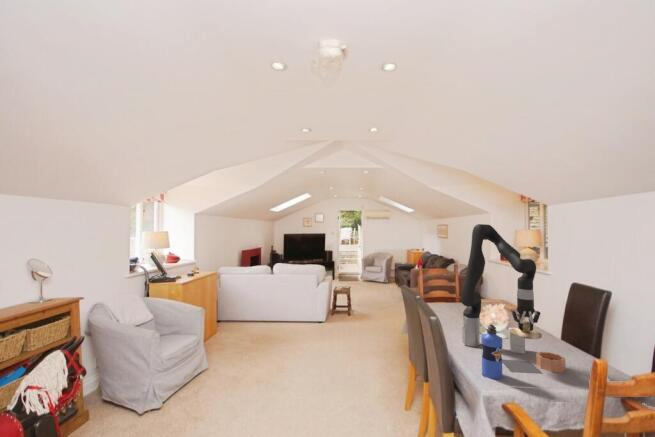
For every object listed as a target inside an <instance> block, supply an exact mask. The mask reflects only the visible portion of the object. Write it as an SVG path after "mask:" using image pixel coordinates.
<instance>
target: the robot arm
mask: <svg viewBox="0 0 655 437" xmlns="http://www.w3.org/2000/svg"><path fill="white" fill-rule="evenodd" d="M484 241H490V242H491V243H492V244H493V245H494V246H495V247H496V250H498V251H497V252H498V253H499V254H500V255H501V256H502V257H503V258H504V259H506V261H508V262H509V264H510V265H511V267H512V268H513V270H515V271H516V272H518V273H519V274H522V275H521V276H519V277H518V278H517V289H516V306H517V307H516V309H514V310H512V309H511V310H510V313H511V315H512V317H513V320H514V321H515V322H516V323H517V324H518V325H517V328H519V329H520V330H521V331H523V324H522V322H523V321H524V320H525V318H527V319H528V322H530V331H532V330H534V324H537V323H538V322H539V319H540V317H541V314H542V313H541V312H540V311H539V310H535V296H534V295H535V293H534V279H535V276H536V272H537V264H536V262H535V261H534V260H533V259H531V258H525V259H524V258H521V253H520V252H519V251H518V250H517V249H515V248H514V247H513V246H512V245H510V244H509V242H507V241H506V240H505V239H504V238H503V236H501V235H500V234H499V232H498V231H497V230H496V228H494V227H493V226H492V225H491V224H485V223H484V224H483V223H481V224H480V223H478V224H476V225H474V227H473V229H472V234H471V245H470V251H469V259H468V263H467V269H466V274H465V278H464V284H463V287H462V290H461V293H460V301H461V304H462V305H463V306H465V309H464V310H463V312H462V313H463V314H462V315H463V317H462V318H463V319H462V320H463V321H462V323H463V324H462V325H463V326H462V329H461V330H462V332H461V333H462V343H463V345H464V346H468V347H475V348H476V347H477V348H478V347H479V346H480V344H481V342H480V338H481V336H480V328H481V327H480V314H481V311H482V296H481V294H480V292H479V291H478V290H476V287H477V286H478V282H479V281H480V280H481V278H482V276H483V274H484V272H485V267H486V259H485V255H484V252H483V242H484ZM517 314H518V316H517ZM533 314H534V316H533Z"/></svg>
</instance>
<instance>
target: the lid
mask: <svg viewBox="0 0 655 437" xmlns="http://www.w3.org/2000/svg"><path fill="white" fill-rule="evenodd" d="M522 324H523V331H521V330H520V329H519V328H518V327H511V328H512V329H511V330H510V333H511V334H512V335H514V336H517V337H521V338H525V340H526V339H527V340H539V339H542V337H543V336H542V335H543V334H542V333H541V332H540V331H538V330H536V329H533V330H532V331H530V322H529V321H525V320H523V322H522Z"/></svg>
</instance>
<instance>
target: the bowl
mask: <svg viewBox="0 0 655 437" xmlns="http://www.w3.org/2000/svg"><path fill="white" fill-rule="evenodd" d="M535 365H536V366H537V368H539V369H540V370H544V371H547V372H550V373H563V372H565V371H566V358H565V357H563V356H562V355H560V354H558V353H554V352H550V351H539V352H537V353H535Z"/></svg>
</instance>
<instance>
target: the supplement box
mask: <svg viewBox="0 0 655 437" xmlns="http://www.w3.org/2000/svg"><path fill="white" fill-rule="evenodd" d="M512 328H513V327H508V349H509V351H510V352H511V353H517V354H526V338H521V337H517V336H514V335H512V334H511V333H510V330H511V329H512Z"/></svg>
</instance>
